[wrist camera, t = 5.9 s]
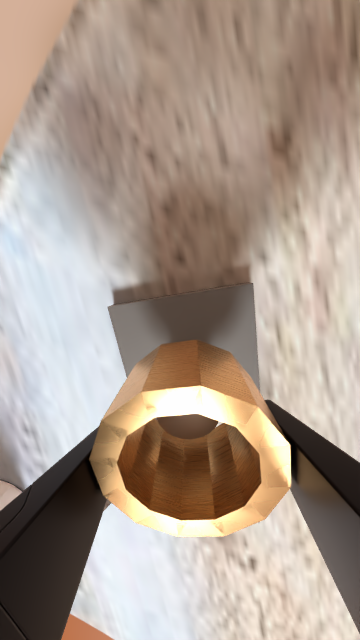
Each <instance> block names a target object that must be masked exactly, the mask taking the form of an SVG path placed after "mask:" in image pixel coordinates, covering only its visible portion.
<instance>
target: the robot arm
mask: <svg viewBox="0 0 360 640" xmlns="http://www.w3.org/2000/svg"><path fill="white" fill-rule="evenodd" d="M264 401H265V402H266V404H267V406H268V408H269V409H270V411H271V413H272V415H273V416H274V418H275V420H276V421H277V423H278V425H279V427H280V428H281V430H282V432H283V434H284V435H285V437H286V439H287V440H288V442H289V444H290V457H291V488H290V490H291V492H292V494H293V496H294V498H295V500H296V502H297V504H298V507H299V509H300V511H301V513H302V515H303V517H304V519H305V521H306V523H307V525H308V527H309V529H310V532H311V534H312V536H313V538H314V540H315V542H316V544H317V546H318V548H319V550H320V552H321V554H322V556H323V559H324V561H325V563H326V565H327V567H328V569H329V571H330V573H331V575H332V577H333V579H334V581H335V583H336V586H337V588H338V590H339V592H340V594H341V596H342V598H343V600H344V602H345V604H346V606H347V608H348V610H349V613H350V615H351V617H352V619H353V621H354V623H355V625H356V627H357V629H358V631H359V633H360V463H359V462H358V461H357V460H355V459H354V458H352V457H351V456H349V455H348V454H347V453H345V452H344V451H342V450H341V449H339V448H338V447H337V446H335V445H334V444H332V443H331V442H329V441H328V440H327V439H325V438H324V437H322V436H321V435H319V434H318V433H317V432H315V431H314V430H312V429H311V428H309V427H308V426H307V425H305V424H304V423H302V422H301V421H299V420H298V419H297V418H295V417H294V416H292V415H291V414H289V413H288V412H287V411H285V410H284V409H282V408H281V407H279V406H278V405H277V404H275V403H274V402H272V401H271V400H264ZM98 429H99V427H98V428H96V429H95V430H94V431H93V432H92V433H91V434H89V435H88V436H87V437H86V438H85V439H84V440H82V441H81V442H80V443H79V444H78V445H77V446H75V447H74V448H73V449H72V450H71V451H70V452H68V453H67V454H66V455H65V456H64V457H63V458H61V459H60V460H59V461H58V462H57V463H56V464H54V465H53V466H52V467H51V468H50V469H49V470H47V471H46V472H45V473H44V474H43V475H42V476H41V477H39V478H38V479H37V480H36V481H35V482H34V483H33V484H32V485H30V486H29V487H28V488H26V489H25V490H24V491H23V492H22V493H21V494H20V495H18V496H17V497H16V498H15V499H14V500H12V501H11V502H10V503H9V504H8V505H6V506H5V507H4V508H3V509H2V510H0V640H61V638H62V635H63V632H64V629H65V626H66V623H67V620H68V617H69V614H70V611H71V608H72V605H73V602H74V599H75V596H76V593H77V590H78V587H79V583H80V580H81V577H82V574H83V571H84V568H85V565H86V562H87V559H88V556H89V553H90V550H91V547H92V544H93V541H94V538H95V535H96V532H97V529H98V526H99V523H100V520H101V517H102V513H103V510H104V507H105V504H106V501H107V498H106V497H104V495H103V493H102V491H101V488H100V486H99V483H98V480H97V478H96V475H95V473H94V470H93V467H92V465H91V462H90V460H89V459H90V455H91V452H92V449H93V446H94V442H95V439H96V436H97V432H98Z"/></svg>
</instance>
